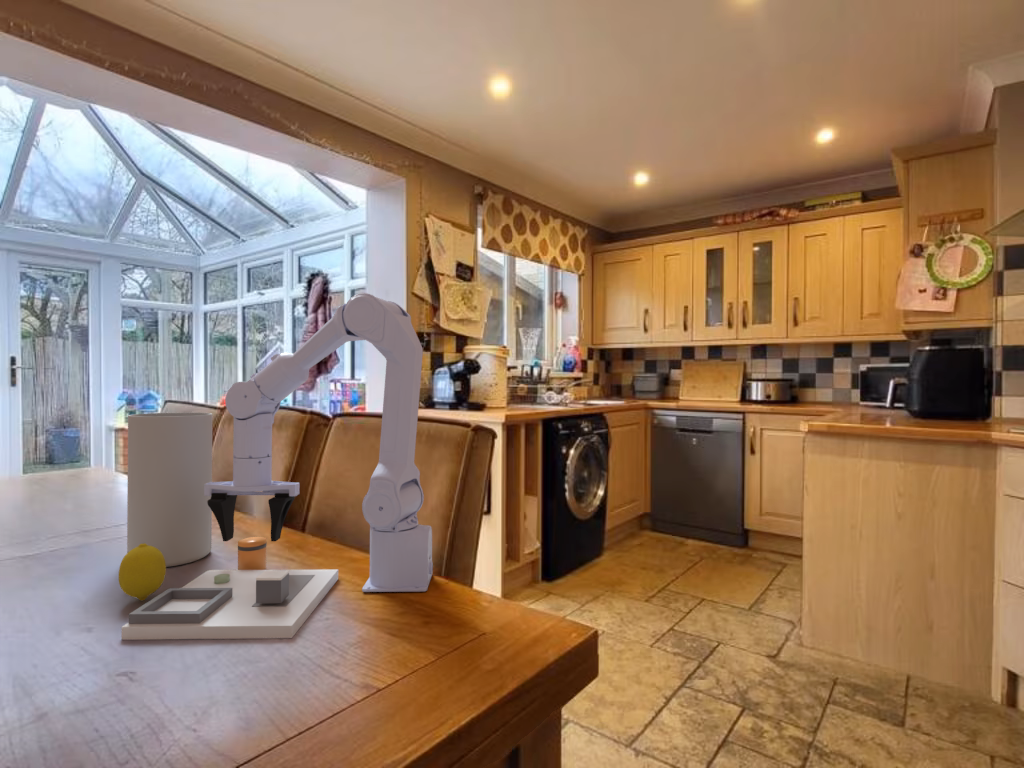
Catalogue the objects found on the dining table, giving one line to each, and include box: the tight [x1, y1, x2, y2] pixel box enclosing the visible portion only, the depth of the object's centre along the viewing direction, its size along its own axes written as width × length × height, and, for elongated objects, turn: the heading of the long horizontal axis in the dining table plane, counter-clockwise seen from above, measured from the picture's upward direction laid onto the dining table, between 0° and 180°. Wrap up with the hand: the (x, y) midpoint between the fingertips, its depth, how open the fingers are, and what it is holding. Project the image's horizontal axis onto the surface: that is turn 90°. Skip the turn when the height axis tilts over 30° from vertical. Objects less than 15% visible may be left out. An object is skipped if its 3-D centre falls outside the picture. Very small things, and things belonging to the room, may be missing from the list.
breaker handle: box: [256, 571, 289, 603], centre depth 73 cm, size 3×3×3 cm
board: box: [121, 568, 339, 641], centre depth 76 cm, size 20×20×3 cm
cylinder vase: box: [126, 412, 213, 568], centre depth 96 cm, size 12×12×25 cm
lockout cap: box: [237, 536, 267, 570], centre depth 90 cm, size 4×4×5 cm
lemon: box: [118, 543, 167, 601], centre depth 77 cm, size 6×6×8 cm
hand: (251, 539), depth 90 cm, fingers open, 7 cm apart
